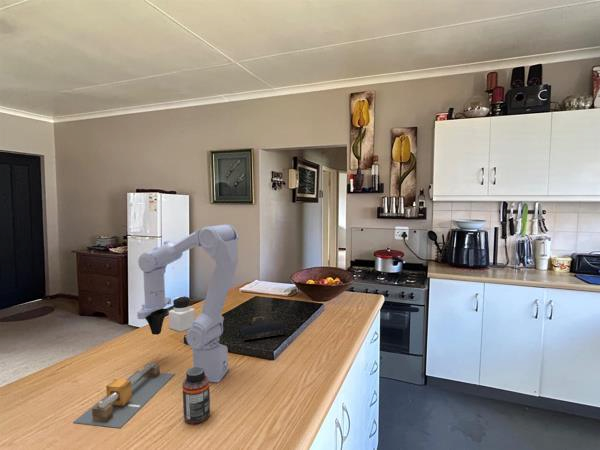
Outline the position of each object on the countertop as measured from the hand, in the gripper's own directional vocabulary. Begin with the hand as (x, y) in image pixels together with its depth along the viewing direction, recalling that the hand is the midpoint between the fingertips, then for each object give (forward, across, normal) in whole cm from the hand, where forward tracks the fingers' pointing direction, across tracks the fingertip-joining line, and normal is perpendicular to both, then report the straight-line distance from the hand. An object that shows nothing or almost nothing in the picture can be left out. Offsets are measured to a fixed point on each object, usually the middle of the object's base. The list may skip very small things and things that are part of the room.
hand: (156, 333), depth 103 cm
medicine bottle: (+10, -28, -7) cm, 30 cm away
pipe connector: (+10, -27, +26) cm, 38 cm away
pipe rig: (+9, +17, +3) cm, 20 cm away
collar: (+9, +21, +3) cm, 23 cm away
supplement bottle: (+10, +22, +24) cm, 34 cm away
